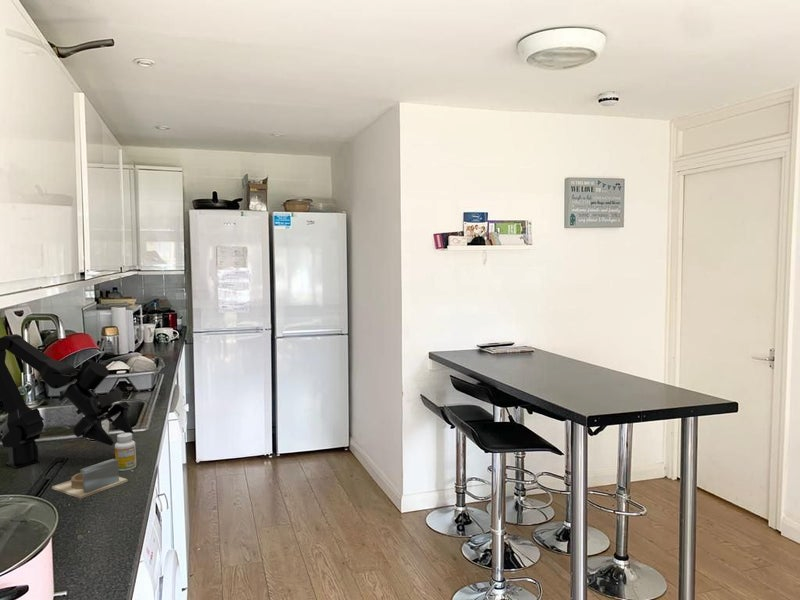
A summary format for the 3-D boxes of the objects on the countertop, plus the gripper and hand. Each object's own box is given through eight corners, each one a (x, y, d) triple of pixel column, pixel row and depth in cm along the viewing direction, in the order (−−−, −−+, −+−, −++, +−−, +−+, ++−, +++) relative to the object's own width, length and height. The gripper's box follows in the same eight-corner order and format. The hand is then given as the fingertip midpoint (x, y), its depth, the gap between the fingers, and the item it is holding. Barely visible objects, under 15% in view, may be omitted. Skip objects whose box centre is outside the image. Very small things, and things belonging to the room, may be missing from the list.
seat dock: (51, 488, 156) (50, 464, 155) (99, 472, 167) (97, 450, 166) (80, 498, 149) (78, 473, 149) (127, 481, 160) (126, 458, 160)
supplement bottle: (120, 465, 173) (118, 432, 172) (139, 464, 173) (137, 431, 173) (112, 471, 168) (111, 437, 167) (132, 470, 168) (130, 437, 167)
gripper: (79, 388, 160) (120, 429, 159) (122, 374, 179) (158, 411, 178) (55, 416, 162) (95, 457, 161) (99, 399, 180) (135, 436, 180)
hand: (122, 439), depth 170 cm, fingers open, 9 cm apart
